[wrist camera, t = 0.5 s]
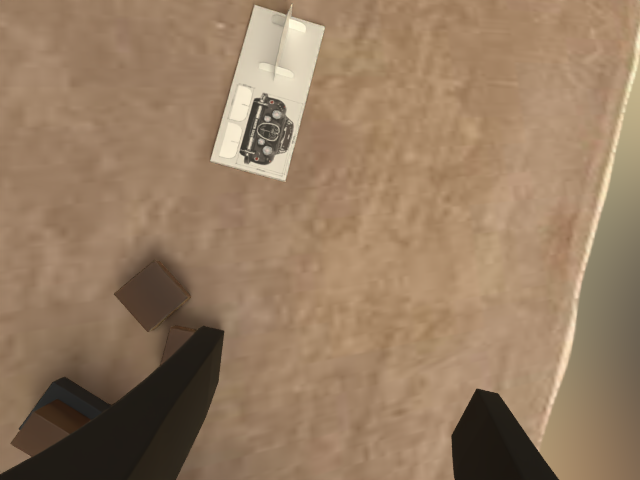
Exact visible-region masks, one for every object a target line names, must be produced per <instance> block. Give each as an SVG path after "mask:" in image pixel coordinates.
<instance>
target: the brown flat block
mask: <svg viewBox="0 0 640 480" xmlns="http://www.w3.org/2000/svg"><path fill="white" fill-rule="evenodd" d="M114 295H115V296H116V297H117V298H118V299H119V300H120V302H121V303H122V304H123V305H124V306H125V307H126V308H127V309H128V311H129V312H130V313H131V314H132V315H133V316H134V317H135V318H136V320H137V321H138V322H139V323H140V324H141V325H142V326H143V327H144V328H145V330H146V331H147V332H149V331H152V330H154V329H155V328H156V327H157V326H158V325H160V324H161V323H162V322H163V321H164V320H165V319H167V318H168V317H169V316H170V315H171V314H172V313H174V312H175V311H176V310H177V309H178V308H179V307H181V306H182V305H183V304H184V303H185V302H186V301H188V300H189V299H190V298H191V296H190V295H189V294H188V292H187V291H186V290H185V289H184V288H183V287H182V286H181V285H180V283H179V282H178V281H177V280H176V279H175V278H174V277H173V276H172V274H171V273H170V272H169V271H168V270H167V269H166V268H165V267H164V265H163V264H162V263H161V262H160V261H156V260H154V261H153V262H152V263H150V264H149V265H148V266H147V267H146V268H144V269H143V270H142V271H141V272H140V273H138V274H137V275H136V276H135V277H133V278H132V279H131V280H130V281H129V282H127V283H126V284H125V285H124V286H123V287H121V288H120V289H119V290H118V291H117V292H115V293H114Z"/></svg>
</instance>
